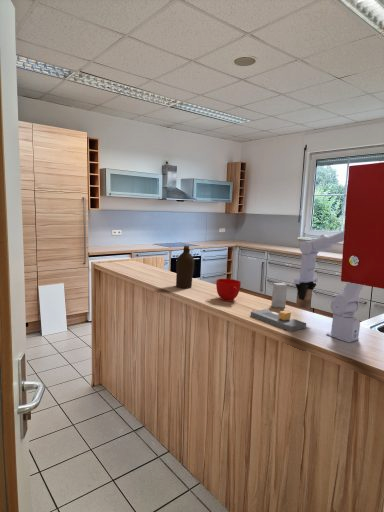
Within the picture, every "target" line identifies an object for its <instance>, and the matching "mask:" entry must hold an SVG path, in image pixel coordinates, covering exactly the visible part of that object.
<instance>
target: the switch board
mask: <svg viewBox="0 0 384 512" xmlns="http://www.w3.org/2000/svg"><path fill="white" fill-rule="evenodd" d="M250 317H251V318H254V319H257V320H260V321H263V322H265V323H268V324H271V325H272V326H276V327H278V328H281V329H284V330H286V331H288V332H294V331H299V330H302V329H306V328H307V322H303V321H302V320H298V319H295V318H293V317H290V319H288V320H282V319H279V312H275V311H272V310H269V309H265V308H264V309H257V310H254V311H250Z"/></svg>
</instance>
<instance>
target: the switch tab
mask: <svg viewBox="0 0 384 512" xmlns="http://www.w3.org/2000/svg"><path fill="white" fill-rule="evenodd" d="M278 314H279V319H282V320H288V319H290V318H291V314H292V312H290V311H287V310H281V311H279V312H278Z"/></svg>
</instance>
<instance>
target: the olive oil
mask: <svg viewBox="0 0 384 512" xmlns="http://www.w3.org/2000/svg"><path fill="white" fill-rule="evenodd" d="M182 251H183V252H181V254H179V255H178V257H177V258H176V272H175V273H176V274H175V275H176V278H175V281H176V282H175V287H177V288H178V289H191V288H192V286H193V276H194V269H195V259H194V257H193V255H192V253H190V246H189V245H183V250H182Z"/></svg>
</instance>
